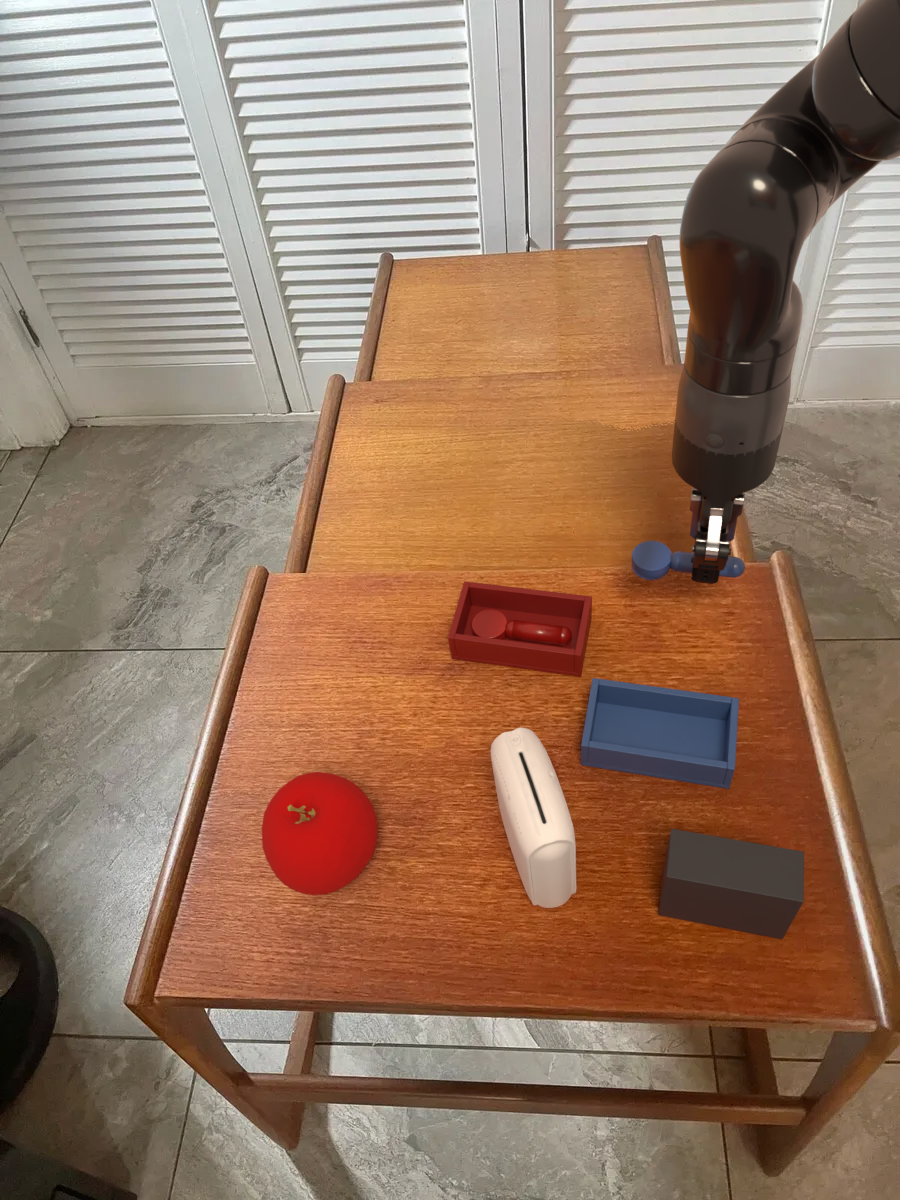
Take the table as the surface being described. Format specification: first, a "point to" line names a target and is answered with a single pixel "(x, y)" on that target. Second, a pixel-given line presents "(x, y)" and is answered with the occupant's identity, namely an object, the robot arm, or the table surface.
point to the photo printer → (535, 817)
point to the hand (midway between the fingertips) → (705, 568)
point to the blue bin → (661, 732)
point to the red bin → (523, 608)
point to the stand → (731, 883)
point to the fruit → (319, 833)
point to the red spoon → (517, 629)
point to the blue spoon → (672, 562)
